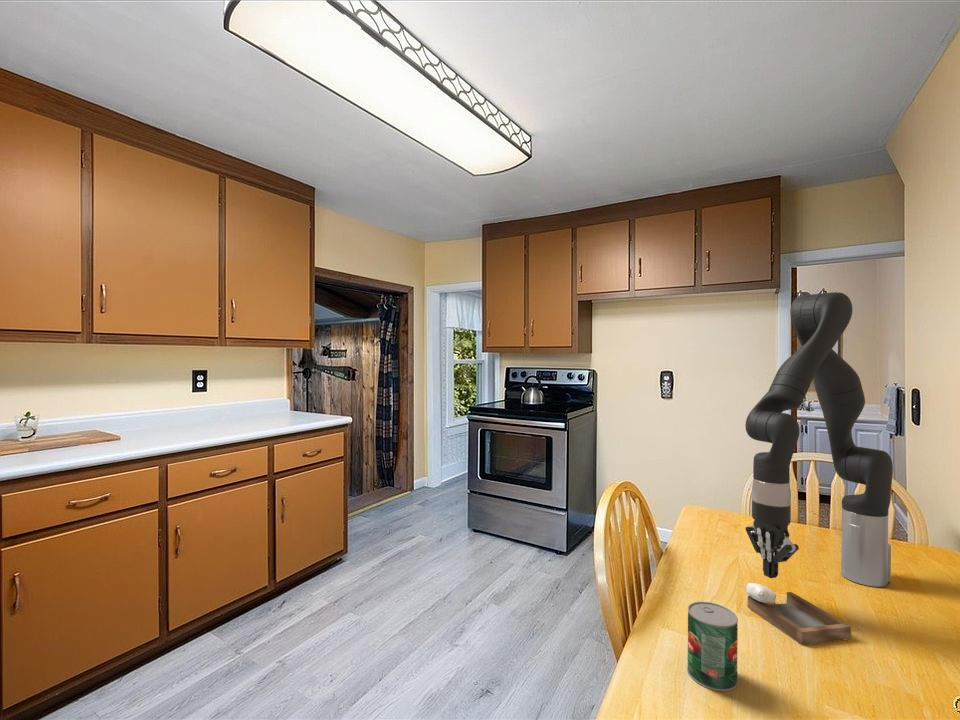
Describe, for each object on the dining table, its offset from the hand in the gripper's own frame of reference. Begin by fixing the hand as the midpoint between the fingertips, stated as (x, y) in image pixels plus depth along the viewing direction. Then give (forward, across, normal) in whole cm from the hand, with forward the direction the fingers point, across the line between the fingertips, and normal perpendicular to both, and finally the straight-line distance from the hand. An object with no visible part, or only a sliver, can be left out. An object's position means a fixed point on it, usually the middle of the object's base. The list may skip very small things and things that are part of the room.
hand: (770, 576), depth 107 cm
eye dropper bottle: (+5, +2, +1) cm, 5 cm away
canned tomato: (+7, -18, +30) cm, 35 cm away
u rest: (+6, -7, 0) cm, 9 cm away
